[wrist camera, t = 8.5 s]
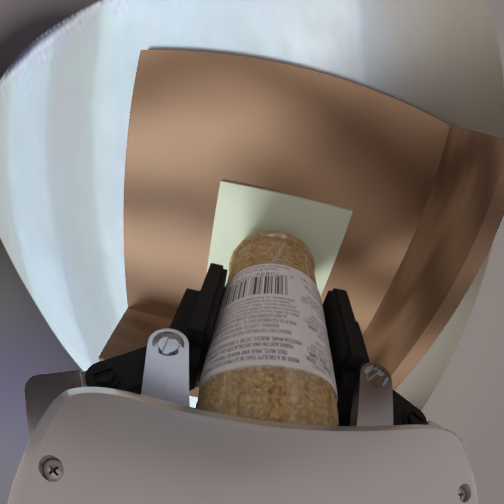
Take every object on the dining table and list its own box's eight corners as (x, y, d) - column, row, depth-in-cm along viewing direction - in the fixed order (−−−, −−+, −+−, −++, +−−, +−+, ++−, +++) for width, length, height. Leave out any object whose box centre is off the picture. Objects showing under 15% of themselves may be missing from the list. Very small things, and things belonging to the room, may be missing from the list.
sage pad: (313, 311, 18) (313, 313, 18) (204, 289, 18) (204, 291, 17) (351, 210, 14) (352, 211, 14) (221, 180, 14) (220, 181, 14)
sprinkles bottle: (233, 299, 16) (184, 547, 5) (227, 226, 14) (126, 538, 2) (312, 300, 16) (333, 553, 4) (319, 226, 14) (387, 550, 2)
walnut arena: (357, 357, 21) (370, 416, 16) (132, 314, 20) (102, 368, 15) (459, 132, 12) (523, 152, 7) (145, 51, 11) (85, 34, 7)
